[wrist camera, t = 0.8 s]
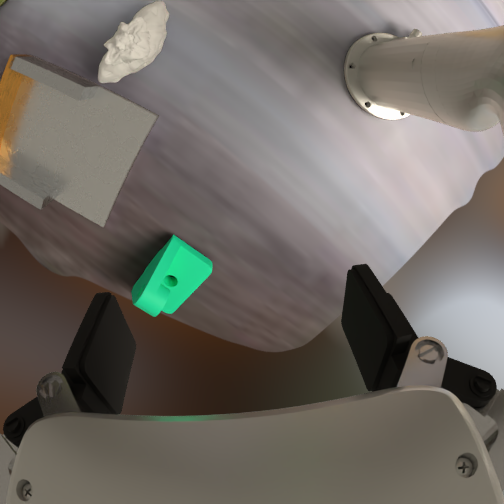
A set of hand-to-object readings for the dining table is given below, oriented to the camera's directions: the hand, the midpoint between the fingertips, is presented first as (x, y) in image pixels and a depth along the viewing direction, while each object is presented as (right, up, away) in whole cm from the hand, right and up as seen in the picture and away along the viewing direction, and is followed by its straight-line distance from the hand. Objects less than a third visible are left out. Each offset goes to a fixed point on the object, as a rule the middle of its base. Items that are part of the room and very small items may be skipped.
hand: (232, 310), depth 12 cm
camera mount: (-12, -1, +35) cm, 37 cm away
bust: (-13, +28, +18) cm, 35 cm away
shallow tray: (-26, +18, +22) cm, 39 cm away
